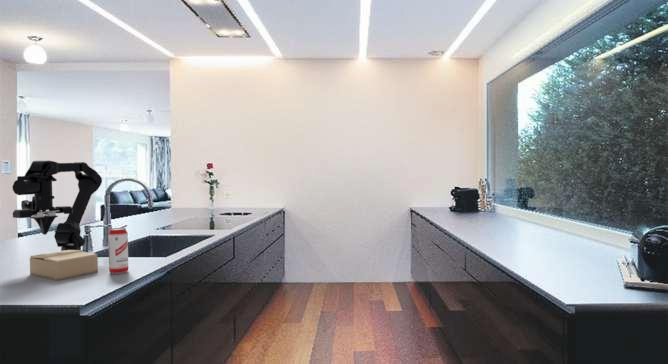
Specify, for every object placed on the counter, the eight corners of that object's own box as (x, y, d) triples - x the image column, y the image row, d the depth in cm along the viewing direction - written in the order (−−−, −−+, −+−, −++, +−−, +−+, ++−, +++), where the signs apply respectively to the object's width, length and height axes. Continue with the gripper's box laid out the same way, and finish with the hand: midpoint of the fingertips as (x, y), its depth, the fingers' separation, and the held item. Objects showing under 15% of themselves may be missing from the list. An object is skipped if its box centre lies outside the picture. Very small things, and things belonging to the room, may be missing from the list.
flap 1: (69, 251, 168) (69, 249, 168) (82, 251, 163) (82, 250, 163) (30, 257, 156) (30, 255, 156) (43, 258, 151) (43, 256, 151)
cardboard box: (70, 266, 168) (69, 251, 168) (97, 271, 159) (97, 255, 159) (30, 274, 156) (29, 257, 156) (57, 280, 147) (57, 262, 147)
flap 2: (82, 253, 163) (82, 251, 163) (96, 255, 159) (96, 253, 159) (43, 259, 151) (43, 258, 151) (57, 262, 147) (57, 260, 147)
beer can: (132, 271, 159) (131, 228, 159) (117, 275, 153) (116, 230, 153) (120, 269, 162) (119, 227, 161) (105, 273, 156) (104, 229, 156)
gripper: (57, 191, 177) (58, 229, 177) (4, 194, 161) (5, 236, 161) (72, 192, 171) (74, 231, 172) (20, 195, 155) (21, 238, 156)
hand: (44, 234), depth 165 cm, fingers closed
